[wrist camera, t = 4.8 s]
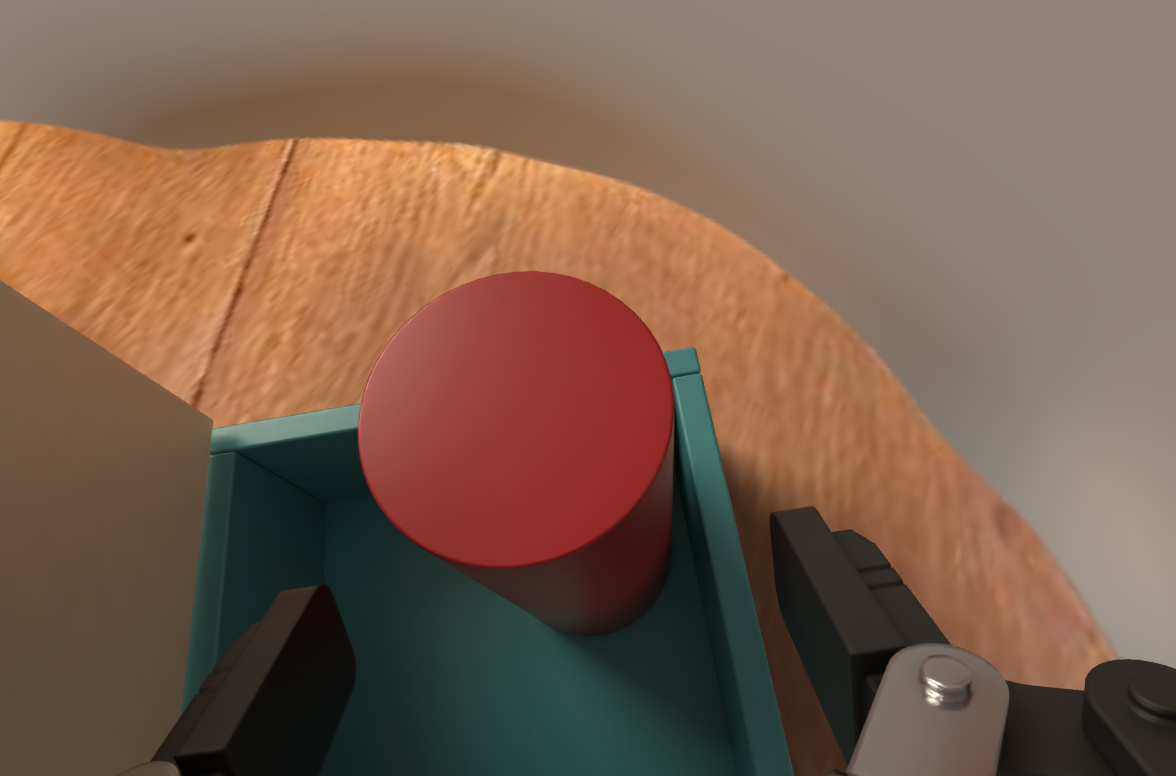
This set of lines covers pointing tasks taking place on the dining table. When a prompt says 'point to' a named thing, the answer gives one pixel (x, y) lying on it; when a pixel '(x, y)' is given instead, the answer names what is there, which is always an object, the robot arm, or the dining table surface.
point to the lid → (91, 550)
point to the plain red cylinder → (530, 446)
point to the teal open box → (490, 621)
